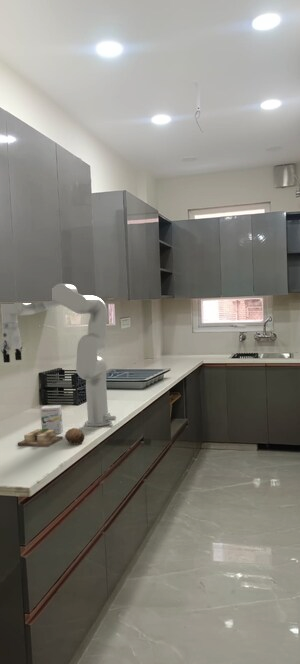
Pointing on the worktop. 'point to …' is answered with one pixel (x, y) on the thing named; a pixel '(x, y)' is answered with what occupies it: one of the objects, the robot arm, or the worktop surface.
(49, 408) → the ink box
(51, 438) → the stand
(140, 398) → the worktop surface
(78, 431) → the mushroom
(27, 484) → the worktop surface
